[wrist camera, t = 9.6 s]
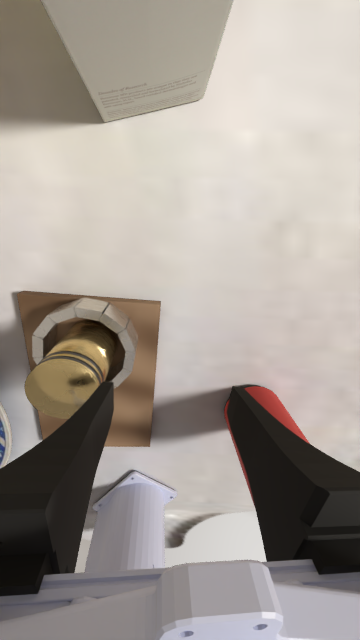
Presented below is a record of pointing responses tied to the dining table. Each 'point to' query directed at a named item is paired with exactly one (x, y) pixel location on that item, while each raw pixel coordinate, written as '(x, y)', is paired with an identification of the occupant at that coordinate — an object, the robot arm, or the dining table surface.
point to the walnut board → (137, 388)
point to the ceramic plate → (4, 437)
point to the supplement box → (141, 49)
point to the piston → (72, 369)
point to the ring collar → (95, 311)
